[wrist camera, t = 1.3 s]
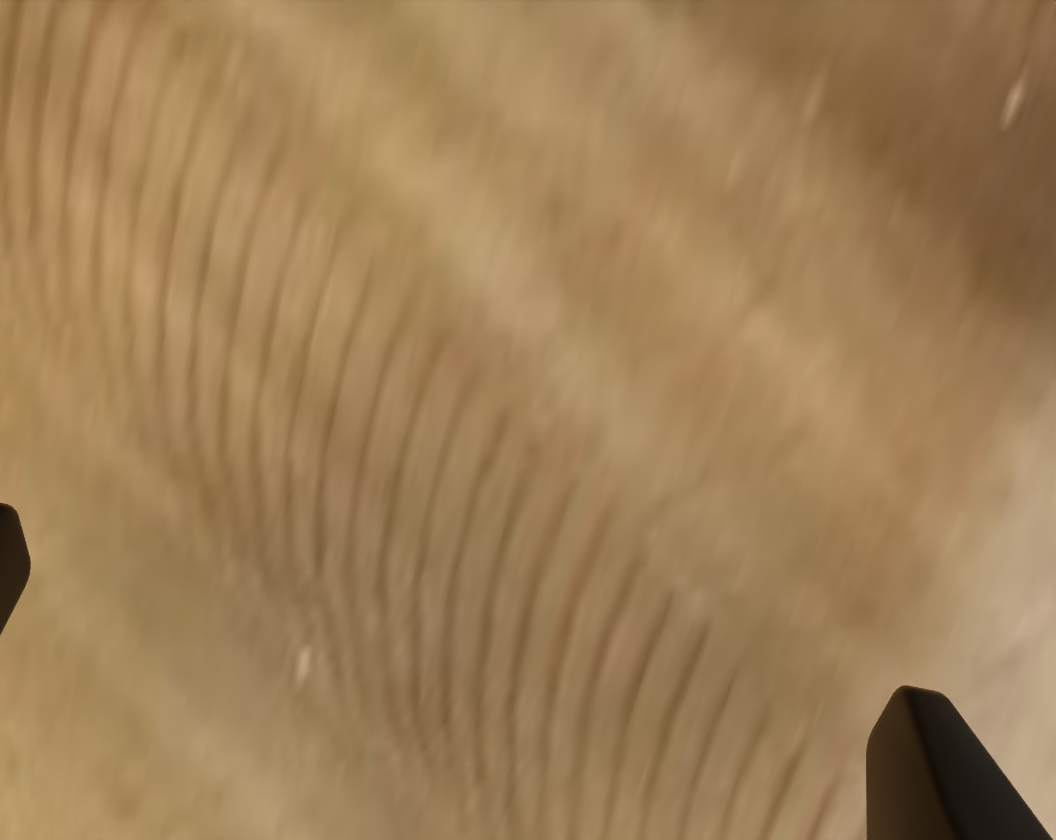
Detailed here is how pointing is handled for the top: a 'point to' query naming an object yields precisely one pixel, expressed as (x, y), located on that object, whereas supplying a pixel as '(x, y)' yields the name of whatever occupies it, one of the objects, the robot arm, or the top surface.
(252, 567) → the top surface
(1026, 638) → the top surface
